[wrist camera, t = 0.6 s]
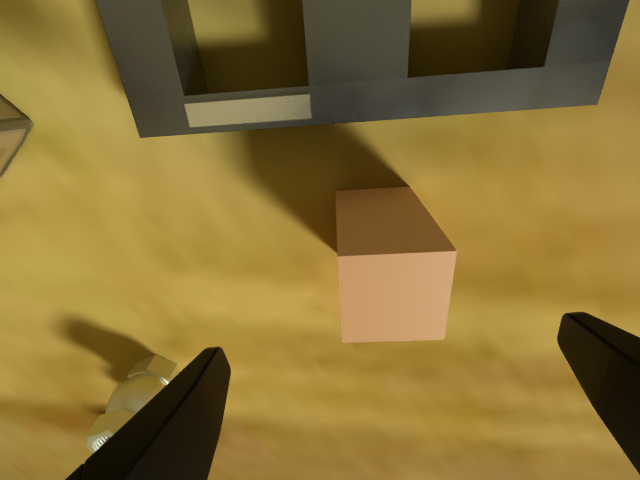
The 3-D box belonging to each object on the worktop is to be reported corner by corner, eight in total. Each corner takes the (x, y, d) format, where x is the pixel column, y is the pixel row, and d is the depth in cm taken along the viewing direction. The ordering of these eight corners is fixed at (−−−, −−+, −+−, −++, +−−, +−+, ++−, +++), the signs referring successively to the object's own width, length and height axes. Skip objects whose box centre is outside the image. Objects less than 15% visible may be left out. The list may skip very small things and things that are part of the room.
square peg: (409, 186, 19) (456, 250, 12) (405, 251, 21) (444, 339, 14) (335, 190, 19) (337, 256, 12) (338, 254, 21) (342, 342, 14)
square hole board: (615, -148, 12) (700, -217, 9) (554, 100, 16) (600, 104, 14) (108, -87, 14) (49, -131, 11) (168, 129, 18) (137, 138, 15)
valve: (116, 347, 26) (140, 433, 32) (54, 425, 20) (96, 513, 26) (195, 355, 26) (205, 439, 32) (156, 435, 20) (176, 520, 26)
